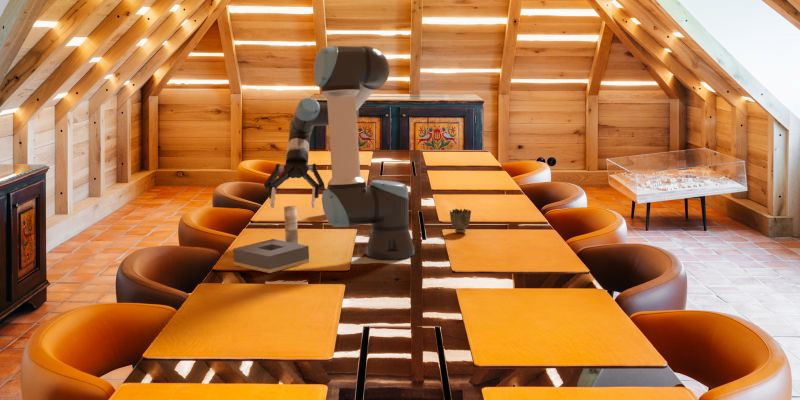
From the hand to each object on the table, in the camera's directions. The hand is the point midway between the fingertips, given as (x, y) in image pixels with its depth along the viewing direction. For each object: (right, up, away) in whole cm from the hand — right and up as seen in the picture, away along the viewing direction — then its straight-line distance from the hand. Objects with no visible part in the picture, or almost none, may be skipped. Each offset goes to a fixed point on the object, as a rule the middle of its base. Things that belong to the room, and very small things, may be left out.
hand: (292, 205), depth 272 cm
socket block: (-3, -17, -22) cm, 28 cm away
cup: (+57, -10, +16) cm, 60 cm away
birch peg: (+1, -14, -5) cm, 15 cm away
